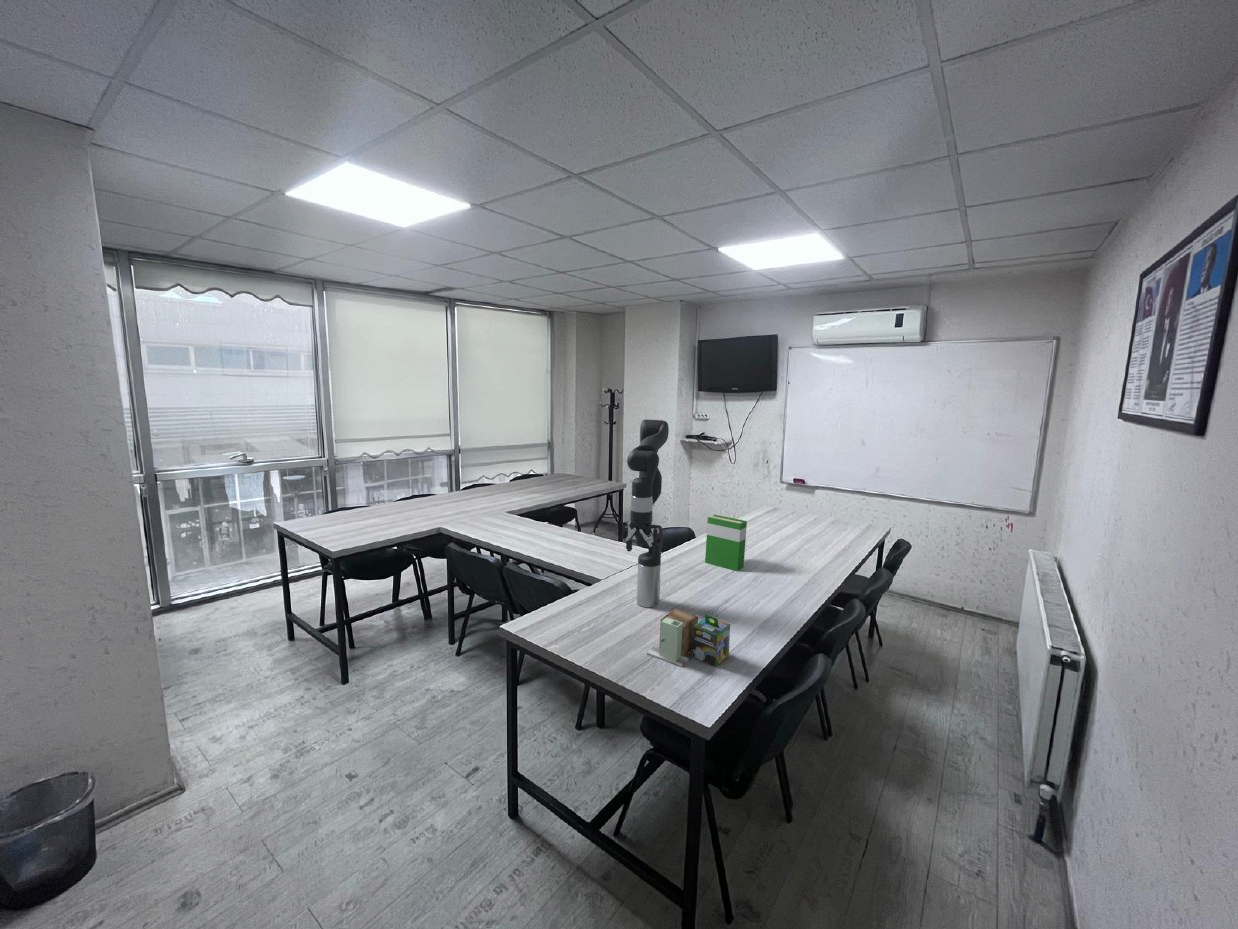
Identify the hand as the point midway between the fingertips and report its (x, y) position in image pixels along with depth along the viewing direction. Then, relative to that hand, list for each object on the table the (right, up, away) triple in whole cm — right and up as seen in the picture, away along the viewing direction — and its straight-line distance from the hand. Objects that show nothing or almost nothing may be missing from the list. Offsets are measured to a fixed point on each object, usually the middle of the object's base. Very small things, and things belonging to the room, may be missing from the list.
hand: (639, 553), depth 172 cm
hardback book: (+46, -20, +78) cm, 93 cm away
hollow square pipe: (+10, -32, -9) cm, 35 cm away
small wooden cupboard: (+12, -32, -4) cm, 34 cm away
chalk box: (+23, -33, -7) cm, 41 cm away
